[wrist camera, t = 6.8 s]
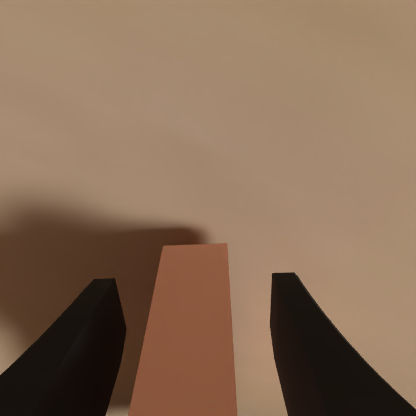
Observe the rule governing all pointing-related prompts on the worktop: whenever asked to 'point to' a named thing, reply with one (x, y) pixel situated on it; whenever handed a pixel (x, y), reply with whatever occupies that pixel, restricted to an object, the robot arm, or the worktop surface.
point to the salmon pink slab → (188, 337)
